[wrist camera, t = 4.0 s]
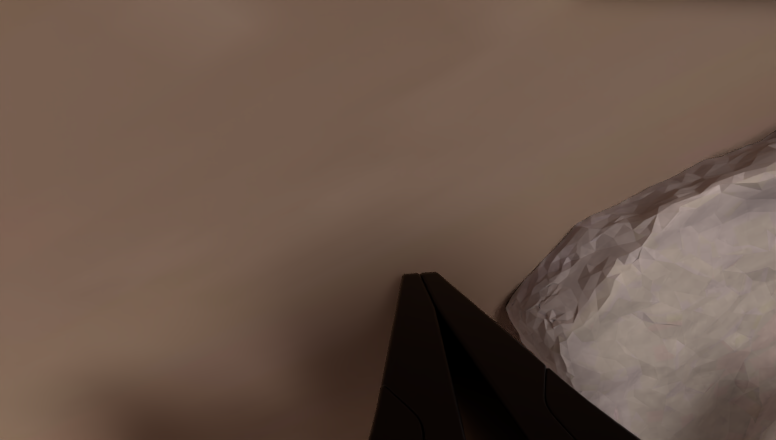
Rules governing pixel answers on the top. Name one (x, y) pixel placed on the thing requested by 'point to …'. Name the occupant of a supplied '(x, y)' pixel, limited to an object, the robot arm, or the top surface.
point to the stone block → (668, 304)
